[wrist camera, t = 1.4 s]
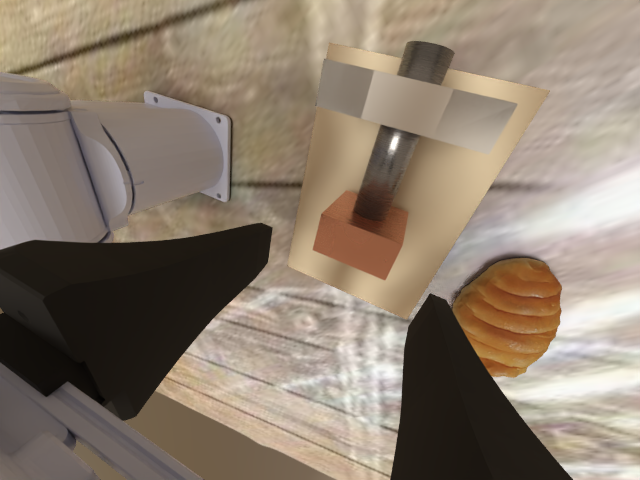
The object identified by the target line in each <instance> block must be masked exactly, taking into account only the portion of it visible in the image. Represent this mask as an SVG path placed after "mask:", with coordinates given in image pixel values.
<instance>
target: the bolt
mask: <svg viewBox="0 0 640 480" xmlns="http://www.w3.org/2000/svg"><path fill="white" fill-rule="evenodd" d="M454 54H455V53H454V51H452V50H451V49H449V48H446V47H444V46H441V45H437V44H433V43H428V42H421V41H411V42H408V43H407V44H406V47H405V51H404V54H403V57H402V60H401V63H400V66H399V69H398V72H397V76H402V77H406V78H410V79H414V80H419V81H423V82H427V83H432V84H436V85H440V86H441V85H442V83H443V80H444V78H445V75H446V73H447V71H448V68H449V66H450V63H451V61H452V59H453V56H454ZM420 136H421V135H417V134H414V133H410V132H407V131H403V130H400V129H396V128H392V127H389V126H385V125H382V124H381V125H380V128H379V131H378V134H377V137H376V140H375V143H374V146H373V149H372V152H371V156H370V159H369V162H368V165H367V168H366V171H365V174H364V177H363V180H362V183H361V186H360V189H359V193H358V194H356V193H353V192H350V191H347V190H346V191H345V192H344V193H343V194H342V195H341V196H340V197H339V198H338V199H336V200H335V201H334V202H333V203H332V204H331V205H330V206H329V207H328V208H327V209H326V210H325V211H324V212H323V213H322V214H321V217H320V221H319V225H318V229H317V233H316V238H315V242H314V246H313V250H314V251H316V252H318V253H321V254H323V255H325V256H328V257H330V258H333V259H335V260H337V261H340V262H342V263H344V264H347V265H349V266H351V267H354V268H356V269H359V270H361V271H363V272H366V273H368V274H370V275H373V276H375V277H378V278H380V279H382V280H386V278H387V276H388V274H389V272H390V270H391V268H392V266H393V264H394V262H395V260H396V258H397V256H398V254H399V252H400V250H401V248H402V246H403V241H404V236H405V230H406V225H407V219H408V213H409V212H407V211H404V210H401V209H399V208H396V207H393V206H392V203H393V201H394V198H395V196H396V194H397V191H398V189H399V186H400V184H401V181H402V179H403V177H404V174H405V172H406V169H407V167H408V165H409V162H410V160H411V157H412V155H413V153H414V150H415V148H416V145H417V143H418V141H419V138H420Z"/></svg>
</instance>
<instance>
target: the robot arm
mask: <svg viewBox="0 0 640 480" xmlns="http://www.w3.org/2000/svg"><path fill="white" fill-rule="evenodd" d="M144 100H145V103H137V102H115V101H92V100H69V96H68V95H67V94H66V93H64V92H63V91H60V90H58V89H57V88H56V87H55V86H53V85H52V84H50V83H49V82H47V81H45V80H42V79H38V78H33V77H28V76H23V75H17V74H11V73H4V72H0V308H1V309H2V311H3V312H4V313H2V314H0V480H100V478H99V477H98V476H97V475H96V474H95V472H94V470H93V469H92V468H91V467H89V466H88V465H87V464H86V463H85V462H84V461H83V460H81V459H80V458H79V457H78V456H77V455H75V453H74V452H73V450H74V448H75V446H76V440H78V441H79V442H80V443H82V444H83V445H84V446H85V447H87V448H88V449H89V450H91V451H92V452H93V453H94V454H96V455H97V456H98V457H99V458H101V459H102V460H103V461H104V462H106V463H107V464H108V465H110V466H111V467H112V468H113V469H115V470H116V471H117V472H118V473H120V474H121V475H122V476H124V477H125V478H126V479H127V480H204V479H203V478H201V477H200V476H198V475H197V474H196V473H194V472H193V471H191V470H190V469H189V468H187V467H186V466H184V465H183V464H182V463H180V462H179V461H177V460H176V459H175V458H173V457H172V456H171V455H169V454H168V453H166V452H165V451H163V450H162V449H161V448H160V447H158V446H157V445H155V444H154V443H152V442H151V441H150V440H148V439H147V438H145V437H144V436H143V435H141V434H140V433H138V432H137V431H136V430H135V429H133V428H132V427H130V426H129V425H127V424H126V423H125V422H123V421H124V420H128V419H131V418H133V417H135V416H137V414H138V413H139V412H140V410H141V409H142V407H143V406H144V405H145V403H146V402H147V400H148V399H149V398H150V396H151V395H152V394H153V392H154V391H155V390H156V388H157V387H158V386H159V384H160V383H161V381H162V380H163V379H164V378H165V376H166V375H167V374H168V372H169V371H170V370H171V369H172V367H173V366H174V365H175V363H176V362H177V361H178V360H179V358H180V357H181V356H182V355H183V353H184V352H185V351H186V350H187V349H188V347H189V346H190V345H191V344H192V342H193V341H194V340H195V339H196V338H197V336H198V335H199V334H200V333H201V332H202V331H203V330H204V328H205V327H206V326H207V325H208V324H209V323H210V321H211V320H212V319H213V318H214V317H215V316H216V315H217V314H218V313H219V312H220V311H221V310H222V309H223V308H224V307H225V306H226V305H227V304H228V303H230V302H231V301H232V300H233V299H234V298H235V297H236V296H237V295H238V294H239V293H240V292H241V291H242V290H243V289H244V288H246V287H247V286H248V285H249V284H250V283H251V282H252V281H253V280H254V279H255V278H256V277H257V275H258V274H259V273H260V272H261V271H262V269H263V268H264V267H265V265H266V264H267V263H268V258H269V250H270V242H271V235H272V227H270V226H268V225H265V224H263V223H256V224H251V225H246V226H242V227H238V228H233V229H229V230H224V231H220V232H215V233H210V234H204V235H199V236H194V237H188V238H180V239H172V240H163V241H148V242H130V243H112V241H113V238H114V234H113V231H115V230H117V229H120V228H123V227H125V226H128V219H127V216H128V215H131V214H134V213H137V212H140V211H143V210H146V209H149V208H152V207H155V206H158V205H161V204H164V203H167V202H170V201H173V200H176V199H179V198H182V197H185V196H188V195H191V194H194V193H197V192H201V193H203V194H206V195H208V196H210V197H213V198H215V199H218V200H220V201H223V202H226V201H228V200H229V194H230V140H231V121H230V118H229V117H228V116H226V115H224V114H220V113H217V112H214V111H211V110H208V109H205V108H202V107H198V106H195V105H192V104H189V103H186V102H183V101H180V100H176V99H173V98H170V97H167V96H164V95H161V94H157V93H154V92H151V91H145V92H144ZM219 118H220V119H221V123H220V121H219ZM220 195H221V196H220ZM390 480H573V479H572V478H571V477H570V476H569V474H568V473H567V472H566V471H565V470H564V469H563V468H562V466H561V465H560V464H559V463H558V462H557V461H556V460H555V458H554V457H553V456H552V455H551V453H550V452H549V451H548V450H547V449H546V447H545V446H544V445H543V444H542V443H541V441H540V440H539V439H538V438H537V437H536V435H535V434H534V433H533V432H532V431H531V429H530V428H529V427H528V425H527V424H526V423H525V422H524V420H523V419H522V418H521V417H520V415H519V414H518V413H517V411H516V410H515V409H514V407H513V406H512V404H511V403H510V402H509V400H508V399H507V398H506V396H505V395H504V394H503V392H502V391H501V390H500V388H499V387H498V385H497V384H496V382H495V381H494V379H493V378H492V376H491V375H490V373H489V372H488V370H487V369H486V367H485V366H484V364H483V363H482V361H481V360H480V358H479V356H478V355H477V353H476V351H475V350H474V348H473V347H472V345H471V343H470V341H469V340H468V338H467V336H466V335H465V333H464V331H463V329H462V327H461V326H460V324H459V322H458V320H457V318H456V317H455V315H454V313H453V311H452V309H451V308H450V306H449V304H448V303H447V301H446V300H445V299H443V298H440V297H438V296H435V295H433V294H431V293H430V294H429V296H428V297H427V299H426V300H425V302H424V304H423V305H422V307H421V308H420V310H419V311H418V313H417V314H416V316H415V317H414V319H413V320H412V322H411V323H410V325H409V327H408V332H407V337H406V342H405V348H404V363H403V383H402V403H401V415H400V424H399V430H398V437H397V443H396V450H395V456H394V462H393V468H392V474H391V479H390Z"/></svg>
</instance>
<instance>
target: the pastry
mask: <svg viewBox="0 0 640 480" xmlns="http://www.w3.org/2000/svg"><path fill="white" fill-rule="evenodd" d="M561 290H562V286H561V284H560V283H559V282H558V280H557V279H556V277H555V276H554V275H553V274H552V273H551V271H550V270H549V267H548V265H546V264H545V263H544V262H542V261H538V260H534V259H530V258H514V259H507V260H502V261H499V262H497V263H495V264H494V265H492V266H490V267H489V268H488V269H487V270H486V271H485V272H483V273H482V274H481V275H480V276H479V277H478V278H477V279H475V280H474V281H472V282H471V283H470V284H468V285H467V286H465V287H464V288H463V289H462V290H461V293H460V295H459V296H458V297H457V298H456V300H455V301H454V303H453V308H452V311H453V313H454V315H455V317H456V318H457V320H458V322H459V324H460V326H461V327H462V329H463V331H464V333H465V335H466V336H467V338H468V340H469V341H470V343H471V345H472V347H473V348H474V350H475V351H476V353H477V355H478V356H479V358H480V360H481V361H482V363H483V364H484V366H485V367H486V369H487V370H488V372H489V373H490V375H491V376H493V377H500V376H506V377H517V376H518V375H520V374H522V373H525V372H526V369H527V367H528V366H529V365H531V364H532V363H534V362H535V361H537V360H538V359H539V358H540V357H541V356H542V355H543V354H544V353H545V352H546V351H547V349H548V346H549V344H550V342H551V341H552V340H553V339H554V338H555V336H556V332H557V328H558V326H559V325H560V314H561V308H560V294H561Z"/></svg>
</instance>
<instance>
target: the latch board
mask: <svg viewBox="0 0 640 480" xmlns="http://www.w3.org/2000/svg"><path fill="white" fill-rule="evenodd" d="M401 60H402V58H397V57H393V56H388V55H384V54H379V53H374V52H370V51H365V50H361V49H356V48H351V47H347V46H342V45H338V44H333V43H329V46H328V52H327V57H326V59H324V61H323V67H322V72H321V78H320V83H319V89H318V94H317V99H316V105H315V106H317V110H316V116H315V121H314V126H313V132H312V137H311V142H310V148H309V153H308V158H307V164H306V169H305V174H304V179H303V185H302V190H301V195H300V201H299V206H298V211H297V217H296V222H295V227H294V233H293V238H292V243H291V249H290V254H289V259H288V265H287V266H288V267H291V268H293V269H295V270H297V271H300V272H302V273H304V274H306V275H308V276H311V277H313V278H315V279H317V280H320V281H322V282H324V283H326V284H329V285H331V286H333V287H335V288H337V289H340V290H342V291H344V292H346V293H349V294H351V295H353V296H355V297H358V298H360V299H362V300H364V301H366V302H369V303H371V304H373V305H375V306H378V307H380V308H382V309H384V310H387V311H389V312H391V313H393V314H395V315H398V316H400V317H402V318H404V319H407V318H408V317H409V315H410V314H411V312H412V310H413V309H414V307H415V306H416V304H417V302H418V301H419V299H420V298H421V296H422V294H423V293H424V291H425V290H426V288H427V286H428V285H429V283H430V282H431V280H432V278H433V277H434V275H435V274H436V272H437V271H438V269H439V267H440V266H441V264H442V263H443V261H444V259H445V258H446V256H447V255H448V253H449V251H450V250H451V248H452V247H453V245H454V243H455V242H456V240H457V239H458V237H459V235H460V234H461V232H462V231H463V229H464V227H465V226H466V224H467V223H468V221H469V219H470V218H471V216H472V215H473V213H474V212H475V210H476V208H477V207H478V205H479V204H480V202H481V200H482V199H483V197H484V196H485V194H486V192H487V191H488V189H489V188H490V186H491V184H492V183H493V181H494V180H495V178H496V176H497V175H498V173H499V172H500V170H501V168H502V167H503V165H504V164H505V162H506V160H507V159H508V157H509V156H510V154H511V152H512V151H513V149H514V148H515V146H516V145H517V143H518V141H519V140H520V138H521V137H522V135H523V133H524V132H525V130H526V129H527V127H528V125H529V124H530V122H531V121H532V119H533V117H534V116H535V114H536V113H537V111H538V109H539V108H540V106H541V105H542V103H543V101H544V100H545V98H546V97H547V95H548V93H549V92H550V91H549V90H545V89H540V88H536V87H531V86H526V85H522V84H517V83H513V82H508V81H503V80H499V79H494V78H490V77H485V76H480V75H476V74H471V73H467V72H462V71H457V70H453V69H448V71H447V73H446V75H445V78H444V80H443V83H442V85H441V86H440V85H436V84H432V83H427V82H423V81H419V80H414V79H410V78H406V77H402V76H397V72H398V69H399V66H400V63H401ZM381 124H382V125H385V126H389V127H392V128H396V129H400V130H403V131H407V132H410V133H414V134H417V135H421V136H420V138H419V141H418V143H417V145H416V148H415V150H414V153H413V155H412V157H411V160H410V162H409V165H408V167H407V169H406V172H405V174H404V177H403V179H402V181H401V184H400V186H399V189H398V191H397V194H396V196H395V198H394V201H393V203H392V206H393V207H396V208H399V209H401V210H404V211H407V212H409V213H408V219H407V225H406V230H405V236H404V241H403V246H402V248H401V250H400V252H399V254H398V256H397V258H396V260H395V262H394V264H393V266H392V268H391V270H390V272H389V274H388V276H387V278H386V280H382V279H380V278H378V277H375V276H373V275H370V274H368V273H366V272H363V271H361V270H359V269H356V268H354V267H351V266H349V265H347V264H344V263H342V262H340V261H337V260H335V259H333V258H330V257H328V256H325V255H323V254H321V253H318V252H316V251H314V250H313V246H314V242H315V238H316V233H317V229H318V225H319V221H320V217H321V214H322V213H323V212H324V211H325V210H326V209H327V208H328V207H329V206H330V205H331V204H332V203H333V202H334V201H335V200H336V199H338V198H339V197H340V196H341V195H342V194H343V193H344V192H345V191H346V190H347V191H350V192H353V193H356V194H358V193H359V189H360V186H361V183H362V180H363V177H364V174H365V171H366V168H367V165H368V162H369V159H370V156H371V152H372V149H373V146H374V143H375V140H376V137H377V134H378V131H379V128H380V125H381Z"/></svg>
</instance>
